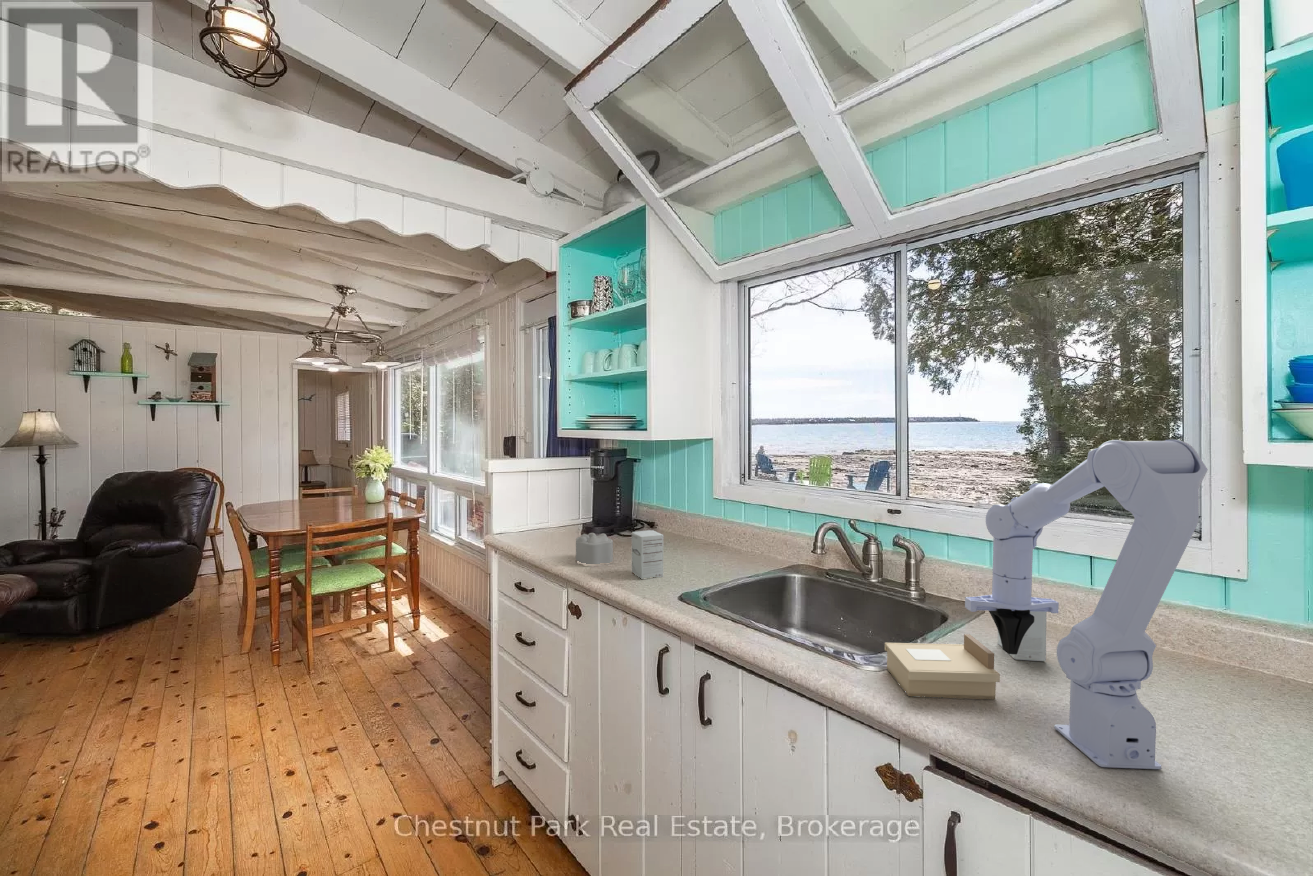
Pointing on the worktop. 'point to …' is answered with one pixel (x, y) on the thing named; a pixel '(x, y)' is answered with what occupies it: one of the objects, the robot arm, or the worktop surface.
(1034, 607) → the robot arm
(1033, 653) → the small box
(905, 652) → the lid
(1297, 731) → the worktop surface
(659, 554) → the supplement box
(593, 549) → the lumpy-topped squat cylinder
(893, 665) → the mailer box
